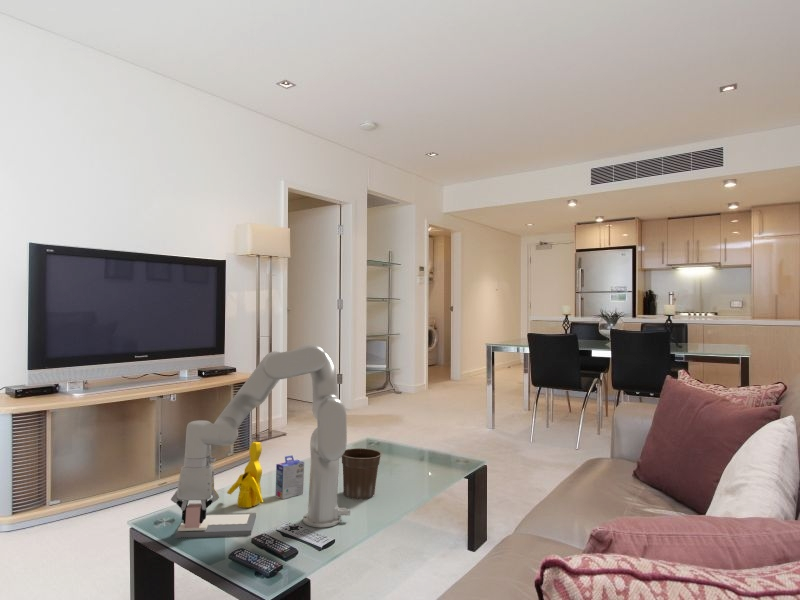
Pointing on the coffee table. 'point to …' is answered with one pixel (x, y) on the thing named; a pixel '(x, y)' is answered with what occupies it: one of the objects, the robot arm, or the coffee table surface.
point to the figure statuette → (250, 480)
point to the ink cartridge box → (289, 478)
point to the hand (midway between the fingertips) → (193, 521)
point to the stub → (193, 519)
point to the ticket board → (223, 526)
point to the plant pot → (360, 472)
